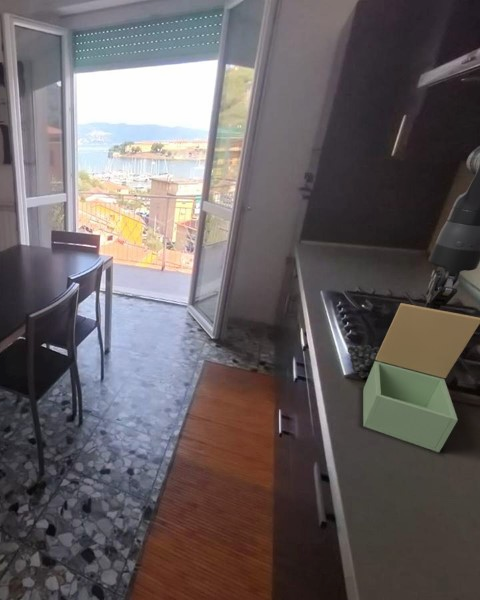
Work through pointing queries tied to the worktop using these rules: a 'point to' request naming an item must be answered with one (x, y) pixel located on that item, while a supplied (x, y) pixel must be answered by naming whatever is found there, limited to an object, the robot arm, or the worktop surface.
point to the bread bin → (408, 406)
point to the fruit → (363, 359)
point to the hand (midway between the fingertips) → (427, 317)
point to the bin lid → (426, 339)
